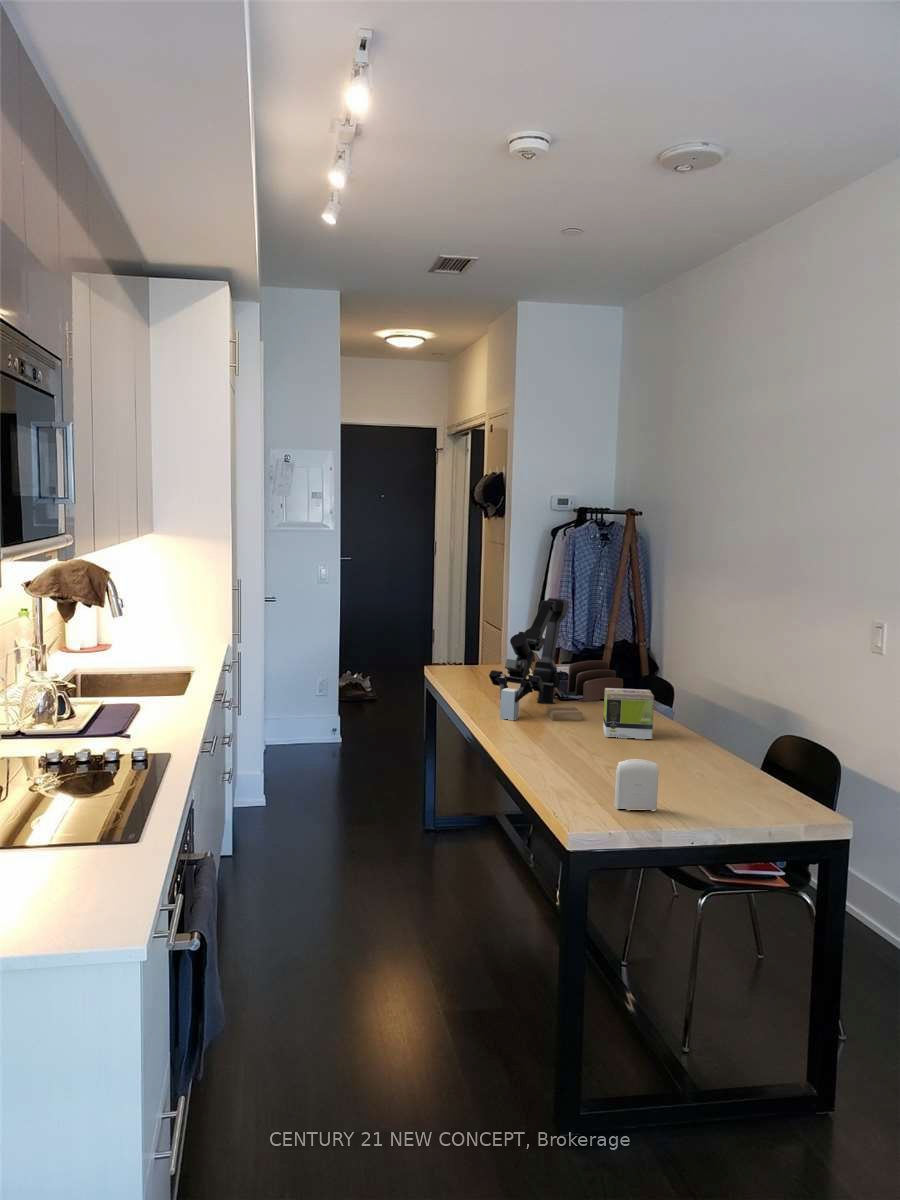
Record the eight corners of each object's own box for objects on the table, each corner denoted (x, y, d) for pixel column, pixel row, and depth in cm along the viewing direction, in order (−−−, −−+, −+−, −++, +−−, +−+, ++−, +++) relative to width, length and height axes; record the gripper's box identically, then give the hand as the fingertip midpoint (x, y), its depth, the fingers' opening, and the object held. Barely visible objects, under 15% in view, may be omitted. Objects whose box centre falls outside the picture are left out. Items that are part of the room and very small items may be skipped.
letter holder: (566, 697, 343) (568, 661, 341) (605, 693, 353) (607, 658, 352) (583, 702, 335) (585, 666, 333) (622, 698, 345) (625, 663, 343)
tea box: (648, 733, 292) (651, 689, 290) (652, 741, 282) (655, 695, 280) (602, 730, 293) (604, 686, 292) (604, 738, 283) (607, 692, 282)
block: (546, 715, 313) (546, 705, 312) (573, 715, 314) (574, 706, 314) (552, 722, 303) (553, 712, 303) (581, 722, 304) (581, 712, 304)
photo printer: (615, 811, 215) (618, 761, 213) (612, 805, 219) (615, 756, 217) (658, 813, 214) (661, 763, 213) (654, 807, 218) (657, 758, 217)
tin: (504, 716, 306) (506, 687, 305) (518, 718, 304) (519, 689, 303) (499, 719, 303) (501, 689, 302) (513, 721, 301) (514, 691, 299)
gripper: (492, 647, 309) (476, 683, 300) (542, 653, 300) (527, 690, 292) (500, 666, 317) (486, 702, 308) (549, 672, 308) (535, 709, 299)
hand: (508, 700), depth 302 cm, fingers closed on tin, 5 cm apart
